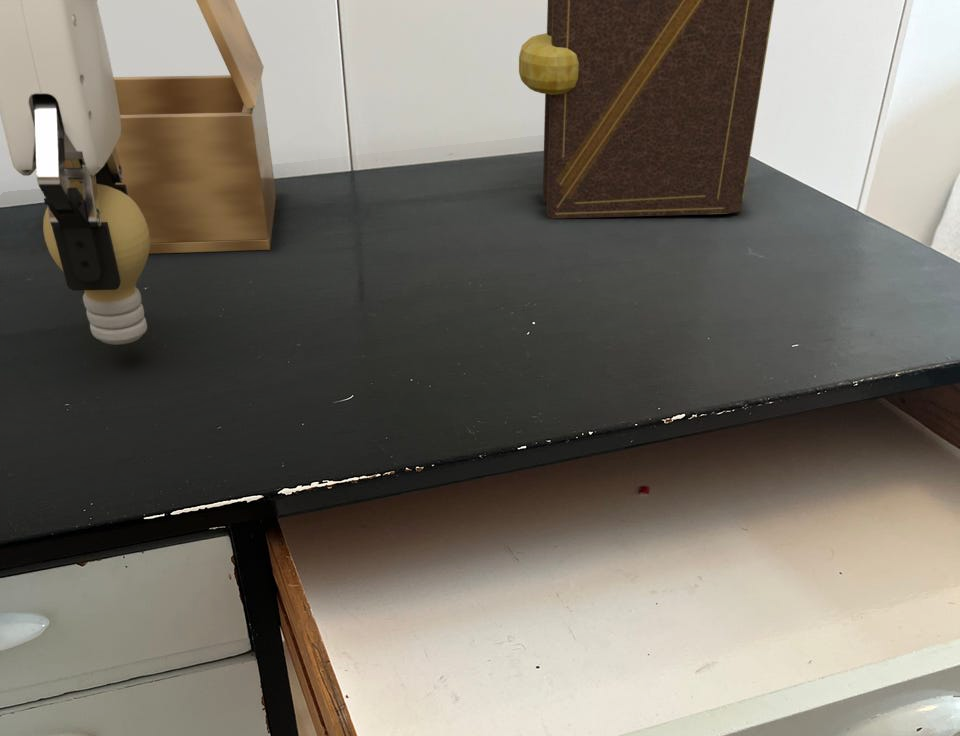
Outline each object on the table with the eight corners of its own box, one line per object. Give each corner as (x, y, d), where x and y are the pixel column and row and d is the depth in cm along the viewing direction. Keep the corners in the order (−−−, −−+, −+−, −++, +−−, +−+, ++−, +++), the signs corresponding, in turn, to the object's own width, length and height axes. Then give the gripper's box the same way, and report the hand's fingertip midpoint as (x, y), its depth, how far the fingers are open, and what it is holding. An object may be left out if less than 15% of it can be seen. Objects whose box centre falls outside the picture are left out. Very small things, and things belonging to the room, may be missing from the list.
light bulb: (108, 312, 70) (73, 165, 63) (186, 326, 69) (158, 177, 62) (53, 348, 65) (9, 194, 59) (135, 364, 64) (100, 208, 57)
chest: (76, 256, 84) (39, 119, 77) (105, 202, 95) (75, 77, 88) (270, 249, 86) (251, 114, 79) (276, 197, 97) (260, 74, 90)
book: (728, 188, 99) (774, -121, 82) (749, 216, 92) (803, -113, 76) (514, 194, 98) (517, -115, 82) (520, 223, 92) (524, -107, 75)
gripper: (-5, -86, 58) (71, 222, 70) (-98, -45, 45) (15, 323, 57) (124, -83, 58) (177, 221, 70) (68, -42, 46) (145, 320, 58)
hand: (104, 264), depth 64 cm, fingers closed on light bulb, 6 cm apart
